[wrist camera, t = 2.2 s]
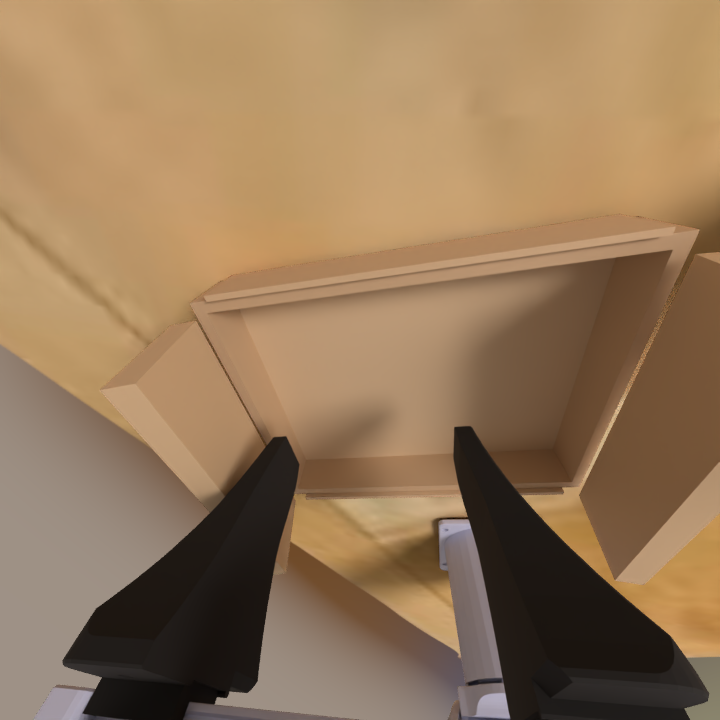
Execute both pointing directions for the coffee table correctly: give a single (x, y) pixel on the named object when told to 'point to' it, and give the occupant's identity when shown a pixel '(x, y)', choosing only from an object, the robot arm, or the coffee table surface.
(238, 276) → the carton
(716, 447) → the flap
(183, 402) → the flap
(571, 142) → the coffee table surface
